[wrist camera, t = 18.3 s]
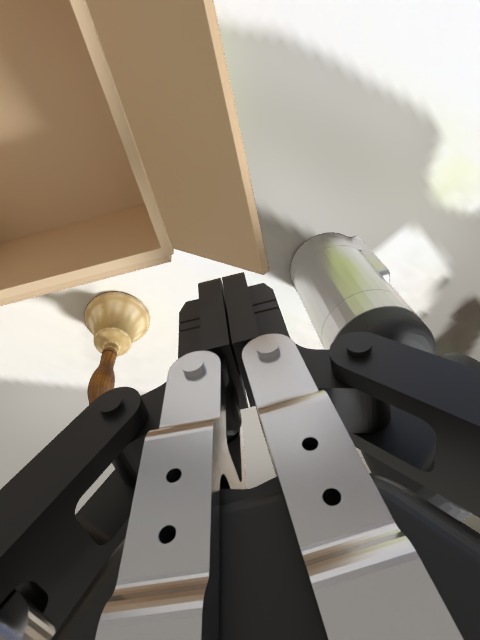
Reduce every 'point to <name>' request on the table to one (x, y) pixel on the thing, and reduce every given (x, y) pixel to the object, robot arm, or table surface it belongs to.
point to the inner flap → (184, 123)
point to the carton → (67, 158)
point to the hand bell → (113, 334)
